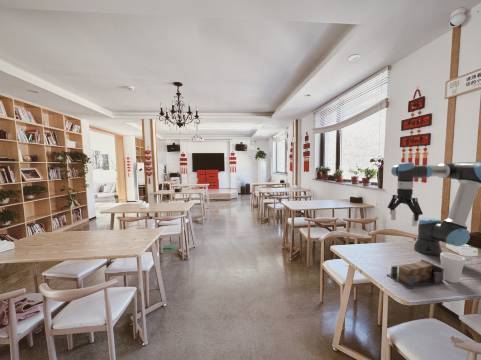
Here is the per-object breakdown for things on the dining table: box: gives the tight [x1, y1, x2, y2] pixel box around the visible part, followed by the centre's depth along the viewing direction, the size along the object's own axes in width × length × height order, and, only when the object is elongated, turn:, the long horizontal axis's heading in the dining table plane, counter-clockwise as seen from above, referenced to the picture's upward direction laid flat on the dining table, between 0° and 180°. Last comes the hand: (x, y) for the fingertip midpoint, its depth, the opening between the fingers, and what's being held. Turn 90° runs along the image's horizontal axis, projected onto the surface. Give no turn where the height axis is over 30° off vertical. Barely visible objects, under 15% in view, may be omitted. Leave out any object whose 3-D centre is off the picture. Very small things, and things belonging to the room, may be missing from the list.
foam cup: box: [439, 252, 466, 284], centre depth 118 cm, size 10×9×13 cm
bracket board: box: [386, 259, 446, 290], centre depth 118 cm, size 22×13×8 cm, turn 102°
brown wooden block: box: [398, 260, 432, 284], centre depth 118 cm, size 18×5×7 cm, turn 110°
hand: (403, 222), depth 136 cm, fingers open, 13 cm apart
